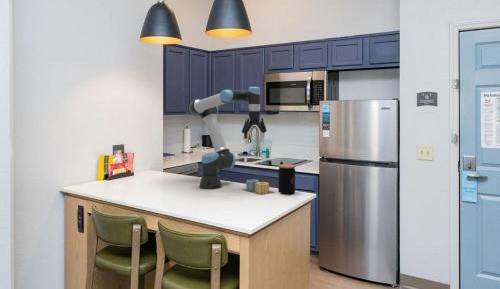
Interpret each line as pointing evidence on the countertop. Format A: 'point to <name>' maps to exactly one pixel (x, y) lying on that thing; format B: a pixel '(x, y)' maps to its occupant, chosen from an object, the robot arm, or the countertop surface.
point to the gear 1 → (251, 184)
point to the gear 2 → (262, 187)
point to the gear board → (256, 193)
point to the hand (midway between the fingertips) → (254, 143)
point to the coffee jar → (286, 179)
